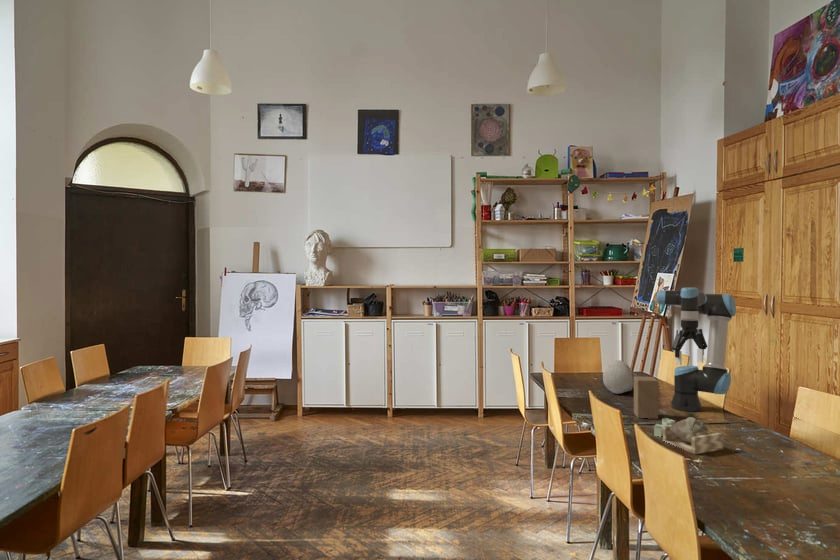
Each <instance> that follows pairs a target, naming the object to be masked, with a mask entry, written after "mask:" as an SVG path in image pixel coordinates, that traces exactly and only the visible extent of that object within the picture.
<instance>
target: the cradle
mask: <svg viewBox="0 0 840 560" xmlns="http://www.w3.org/2000/svg"><path fill="white" fill-rule="evenodd" d="M670 426H671V425H668V426H663V437H662V442H663V441H665V442H664V443H666V442H667V443H666V444H668V443H670V444H669V445H671V444H672V445H671V446H673V445H674V447H676V446H677V447H676V448H678V447H679V449H681V448H682V449H681V450H683V449H684V450H683V451H686V452H688V453H691V454H694V455H699V454H703V453H709V452H710V453H711V452H715V451H721V450H724V433H723V432H713V433H708V434H707V435H701V436H694V437H692V443H690V442H687V441H684V440H682V439H680V438H679V437H678V436H676V435H675V434H673V433H672V432H671V430H670Z"/></svg>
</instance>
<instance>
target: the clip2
mask: <svg viewBox="0 0 840 560" xmlns="http://www.w3.org/2000/svg"><path fill="white" fill-rule="evenodd" d="M663 426H666V425H662V424H659V423H655V424H654V426H653V431H654V433H653V434H654V437H657V436H659V437H658V438H663V437H662V435H663Z"/></svg>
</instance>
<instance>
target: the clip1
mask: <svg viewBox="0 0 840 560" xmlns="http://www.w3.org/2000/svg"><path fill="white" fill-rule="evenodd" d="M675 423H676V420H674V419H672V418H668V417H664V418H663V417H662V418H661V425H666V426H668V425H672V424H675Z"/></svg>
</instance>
